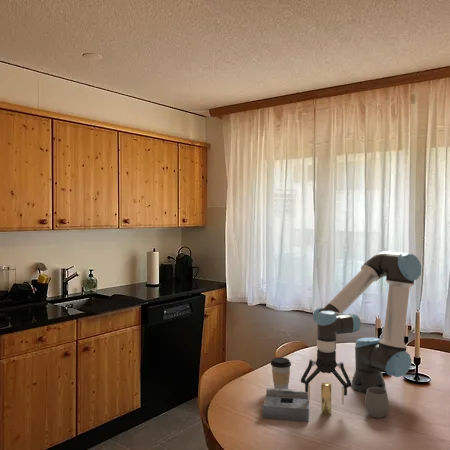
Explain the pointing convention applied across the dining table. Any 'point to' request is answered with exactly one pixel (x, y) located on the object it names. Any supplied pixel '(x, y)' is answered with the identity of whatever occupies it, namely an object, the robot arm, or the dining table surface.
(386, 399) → the cup
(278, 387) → the coffee cup
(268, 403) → the block
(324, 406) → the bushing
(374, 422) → the dining table surface
